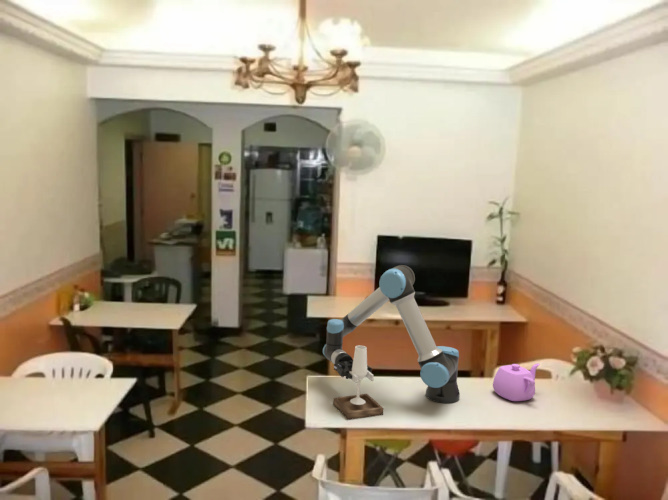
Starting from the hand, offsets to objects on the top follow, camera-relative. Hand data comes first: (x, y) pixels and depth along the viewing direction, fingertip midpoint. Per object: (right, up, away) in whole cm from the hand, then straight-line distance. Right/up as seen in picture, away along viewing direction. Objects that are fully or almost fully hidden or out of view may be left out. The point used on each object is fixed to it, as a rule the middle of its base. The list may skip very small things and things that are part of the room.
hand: (364, 378), depth 254 cm
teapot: (+71, -14, +30) cm, 78 cm away
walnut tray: (-3, -15, +7) cm, 16 cm away
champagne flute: (-3, -11, +7) cm, 13 cm away
